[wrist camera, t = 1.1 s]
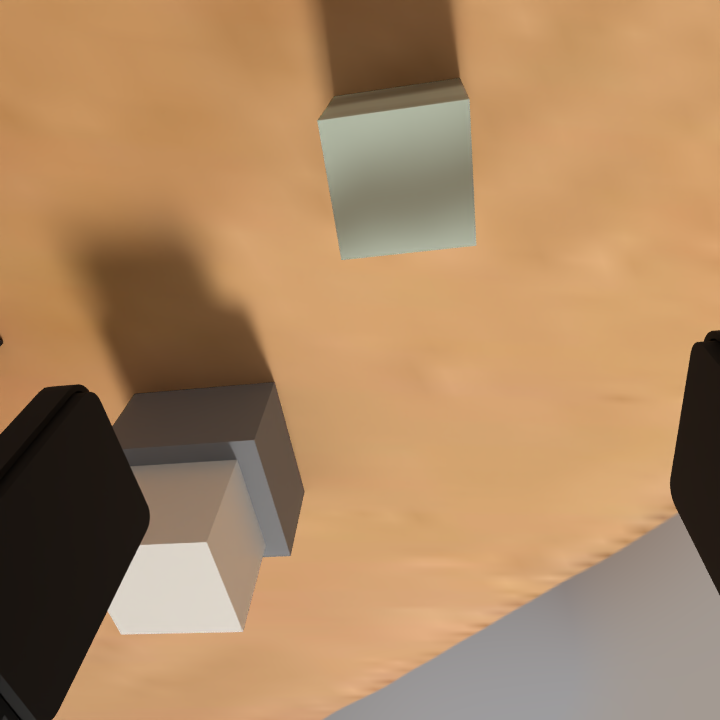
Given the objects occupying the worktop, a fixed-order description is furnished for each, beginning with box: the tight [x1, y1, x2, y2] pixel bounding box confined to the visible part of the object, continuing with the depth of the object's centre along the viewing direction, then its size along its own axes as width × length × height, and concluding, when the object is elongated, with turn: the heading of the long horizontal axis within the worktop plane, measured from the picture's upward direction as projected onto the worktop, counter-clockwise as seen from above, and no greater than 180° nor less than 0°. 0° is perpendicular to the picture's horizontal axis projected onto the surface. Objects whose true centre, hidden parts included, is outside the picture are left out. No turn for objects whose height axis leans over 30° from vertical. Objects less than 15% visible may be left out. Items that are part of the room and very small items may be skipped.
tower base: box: [112, 382, 304, 557], centre depth 33 cm, size 8×8×5 cm
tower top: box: [108, 460, 266, 634], centre depth 29 cm, size 6×6×5 cm
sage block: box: [318, 78, 476, 260], centre depth 23 cm, size 5×5×5 cm
